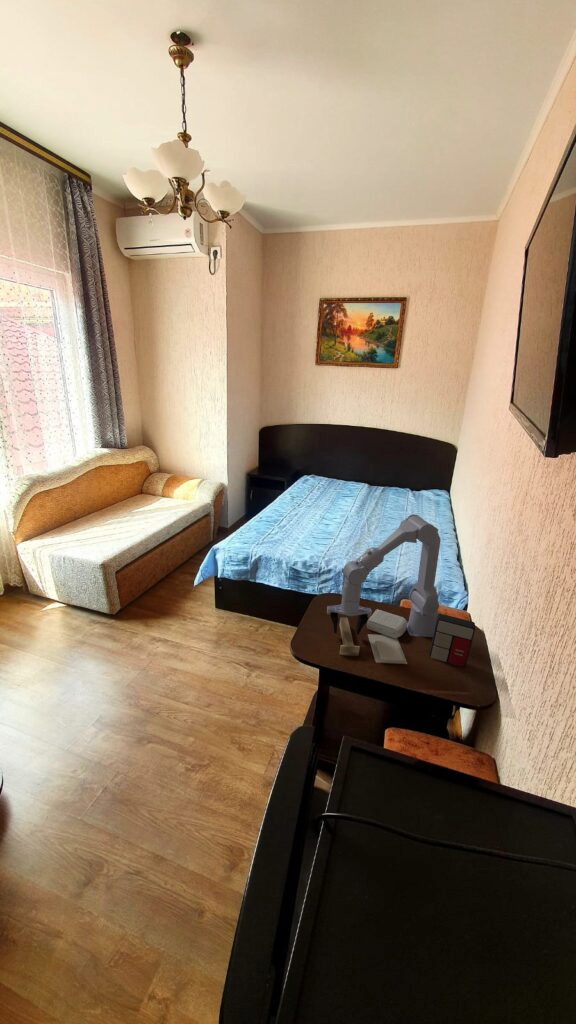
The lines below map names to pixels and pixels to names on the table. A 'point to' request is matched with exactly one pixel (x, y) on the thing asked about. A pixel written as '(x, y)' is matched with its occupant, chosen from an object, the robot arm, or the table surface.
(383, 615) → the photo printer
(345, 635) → the tan wooden slat
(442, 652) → the grey red panelled box
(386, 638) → the mat
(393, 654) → the tile
